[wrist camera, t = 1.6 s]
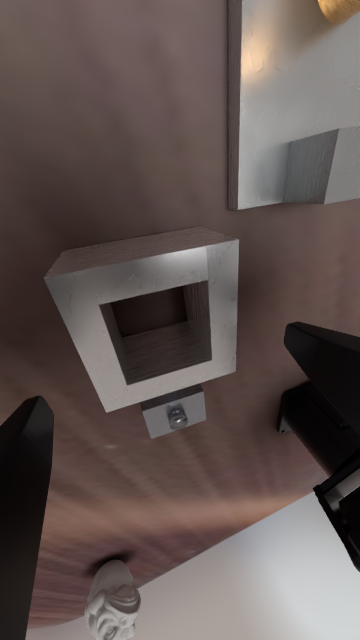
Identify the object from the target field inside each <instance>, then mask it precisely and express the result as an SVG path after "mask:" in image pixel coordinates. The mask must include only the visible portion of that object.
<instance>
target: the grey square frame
mask: <svg viewBox="0 0 360 640" xmlns="http://www.w3.org/2000/svg"><path fill="white" fill-rule="evenodd" d="M238 260H239V239H236V238H233V237H230V236H227V235H225V234H222V233H219V232H216V231H213V230H210V229H207V228H204V227H202V226H198V227H192V228H186V229H181V230H175V231H169V232H164V233H158V234H153V235H147V236H141V237H136V238H130V239H125V240H119V241H113V242H108V243H102V244H96V245H91V246H85V247H80V248H74V249H68V250H63V252H62V253H61V254H60V256H59V257H58V259H57V260H56V261H55V263H54V264H53V266H52V267H51V268H50V270H49V271H48V272H47V274H46V275H45V277H44V280H45V282H46V284H47V287H48V289H49V291H50V293H51V295H52V297H53V299H54V302H55V304H56V306H57V308H58V310H59V312H60V314H61V316H62V319H63V321H64V323H65V325H66V327H67V329H68V331H69V334H70V336H71V338H72V340H73V342H74V344H75V346H76V349H77V351H78V353H79V355H80V357H81V359H82V361H83V364H84V366H85V368H86V370H87V372H88V374H89V376H90V379H91V381H92V383H93V385H94V387H95V389H96V391H97V393H98V396H99V398H100V400H101V402H102V404H103V406H104V408H105V411H106V413H107V412H110V411H113V410H116V409H119V408H123V407H126V406H129V405H132V404H135V403H138V402H142V401H145V400H148V399H151V398H154V397H157V396H160V395H164V394H167V393H170V392H173V391H176V390H179V389H182V388H186V387H189V386H192V385H195V384H198V383H201V382H205V381H208V380H211V379H214V378H217V377H220V376H223V375H227V374H230V373H233V372H236V342H237V301H238ZM179 286H183V291H184V299H185V308H186V316H187V321H184V322H181V323H177V324H173V325H169V326H165V327H161V328H157V329H154V330H150V331H146V332H142V333H138V334H134V335H130V336H127V337H123V338H121V335H120V331H119V328H118V325H117V322H116V319H115V316H114V313H113V309H112V306H111V303H110V302H113V301H117V300H122V299H126V298H130V297H135V296H139V295H144V294H148V293H152V292H157V291H161V290H166V289H170V288H174V287H179Z"/></svg>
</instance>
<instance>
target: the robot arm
mask: <svg viewBox="0 0 360 640" xmlns="http://www.w3.org/2000/svg"><path fill="white" fill-rule="evenodd" d="M284 345H285V347H286V348H287V350H288V351H289V352H290V354H291V355H292V356H293V358H294V359H295V361H296V362H297V363H298V365H299V366H300V367H301V369H302V370H303V371H304V373H305V374H306V375H307V377H308V378H309V379H310V380H311V381H312V383H311V384H308V385H305V386H303V387H300V388H297V389H294V390H291V391H288V392H286V393H285V394H284V396H283V400H282V405H281V410H280V415H279V420H278V425H277V431H278V433H279V434H283V433H286V432H288V431H291V430H293V432H294V433H295V434H296V436H297V437H298V438H299V439H300V441H301V442H302V443H303V444H304V446H305V447H306V448H307V449H308V451H309V452H310V453H311V455H312V456H313V457H314V458H315V460H316V461H317V462H318V463H319V465H320V466H321V467H322V468H323V470H324V471H325V472H326V474H327V475H328V476H329V477H330V478H328V479H327V480H326V481H324V482H323V483H322V484H320V485H317V486H315V487H314V488H313V490H314V492H315V495H316V496H317V498H318V501H319V503H320V504H321V506H322V507H323V510H324V511H325V513H326V515H327V517H328V518H329V520H330V522H331V523H332V525H333V527H334V528H335V530H336V532H337V534H338V535H339V537H340V539H341V541H342V542H343V544H344V546H345V548H346V550H347V552H348V554H349V556H350V558H351V560H352V562H353V564H354V566H355V567H356V569H357V570H358V571H359V572H360V486H359V485H360V337H357V336H353V335H349V334H345V333H341V332H337V331H333V330H329V329H325V328H322V327H318V326H314V325H310V324H306V323H302V322H293V323H290V324H288V325H287V326H286V330H285V336H284ZM53 429H54V415H53V411H52V410H51V408H50V407H49V405H48V404H47V402H46V401H45V399H44V398H43V397H42V396H35V397H32V398H28V399H26V400H25V401H24V402H23V403H22V404H21V405H20V406H19V407H18V408H17V409H16V410H15V411H14V412H13V413H12V414H11V416H10V417H9V418H8V419H7V420H6V421H5V422H4V423H3V424H2V425H1V426H0V640H25V637H26V631H27V625H28V618H29V612H30V605H31V599H32V592H33V586H34V579H35V573H36V566H37V560H38V553H39V547H40V540H41V534H42V527H43V521H44V514H45V508H46V501H47V495H48V488H49V482H50V475H51V468H52V453H53ZM357 486H359V487H358V488H356V487H357ZM355 488H356V489H355ZM353 489H355V490H354V491H352V490H353ZM351 491H352V492H351ZM349 492H351V493H350V494H348V493H349ZM346 494H348V495H347V496H345V495H346ZM344 496H345V497H344Z"/></svg>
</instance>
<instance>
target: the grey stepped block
mask: <svg viewBox="0 0 360 640" xmlns="http://www.w3.org/2000/svg"><path fill="white" fill-rule="evenodd" d="M141 407H142V412H143V415H144V419H145V422H146V425H147V428H148V431H149V434H150V437H151V439H153V438H156V437H159V436H162V435H164V434H167V433H170V432H173V431H176V430H180V429H182V428H184V427H187V426H190V425H193V424H196V423H199V422H201V421H204V420H206V412H205V400H204V391H203V389H202V387H201V385H200V383H198V384H195V385H192V386H189V387H186V388H182V389H179V390H176V391H173V392H170V393H167V394H164V395H160V396H157V397H154V398H151V399H148V400H145V401H142V402H141Z"/></svg>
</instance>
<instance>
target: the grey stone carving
mask: <svg viewBox="0 0 360 640" xmlns="http://www.w3.org/2000/svg"><path fill="white" fill-rule="evenodd" d="M132 580H133V578H132V574H131V573H130V571H129V569H128V567H127V566H126V564H125V563H124V562H122V561H120V560H111V561H108V562H107V563H105V564H104V565H103V566H102V567H101V568H100V569H99V570H98V572H97V573H96V575H95V577H94V579H93V582H92V585H91V589H90V594H89V596H88V600H87V605H86V607H85V618H86V622H87V627H88V629H89V630H90V632H91V634H92V635H93V637H95V638H96V639H97V640H126V639H127V638H131V637H132V636H133V635H134V633H135V621H136V615H137V613H138V611H139V608H140V603H141V598H140V594H139V592H138V590H137V587H136V586H135V585H133V584H132Z"/></svg>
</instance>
